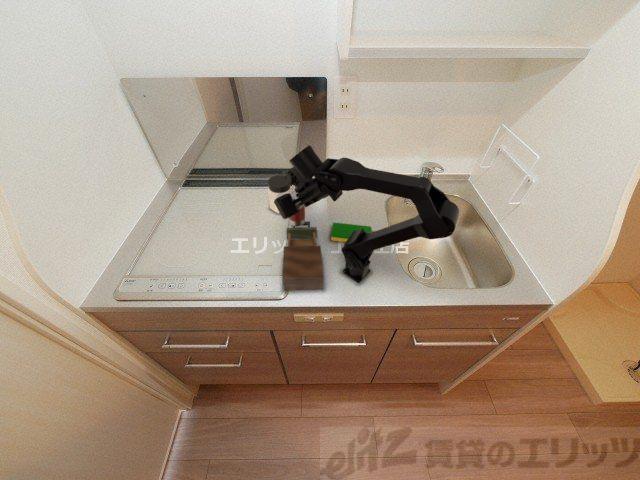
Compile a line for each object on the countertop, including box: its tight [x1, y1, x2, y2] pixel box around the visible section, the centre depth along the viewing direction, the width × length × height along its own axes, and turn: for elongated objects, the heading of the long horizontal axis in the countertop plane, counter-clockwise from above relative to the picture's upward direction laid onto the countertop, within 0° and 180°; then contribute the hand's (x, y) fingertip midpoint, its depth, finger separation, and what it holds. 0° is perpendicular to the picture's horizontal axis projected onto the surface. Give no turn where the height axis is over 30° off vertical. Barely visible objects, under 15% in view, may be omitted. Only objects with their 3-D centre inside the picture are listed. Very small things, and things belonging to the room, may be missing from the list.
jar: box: [267, 174, 293, 214], centre depth 102 cm, size 9×8×12 cm
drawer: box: [286, 221, 318, 246], centre depth 90 cm, size 16×10×4 cm, turn 4°
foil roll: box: [288, 191, 306, 227], centre depth 86 cm, size 5×5×10 cm
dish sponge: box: [330, 222, 372, 243], centre depth 96 cm, size 7×14×2 cm, turn 83°
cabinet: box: [282, 245, 324, 292], centre depth 82 cm, size 12×11×6 cm
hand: (293, 203), depth 85 cm, fingers closed on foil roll, 5 cm apart
